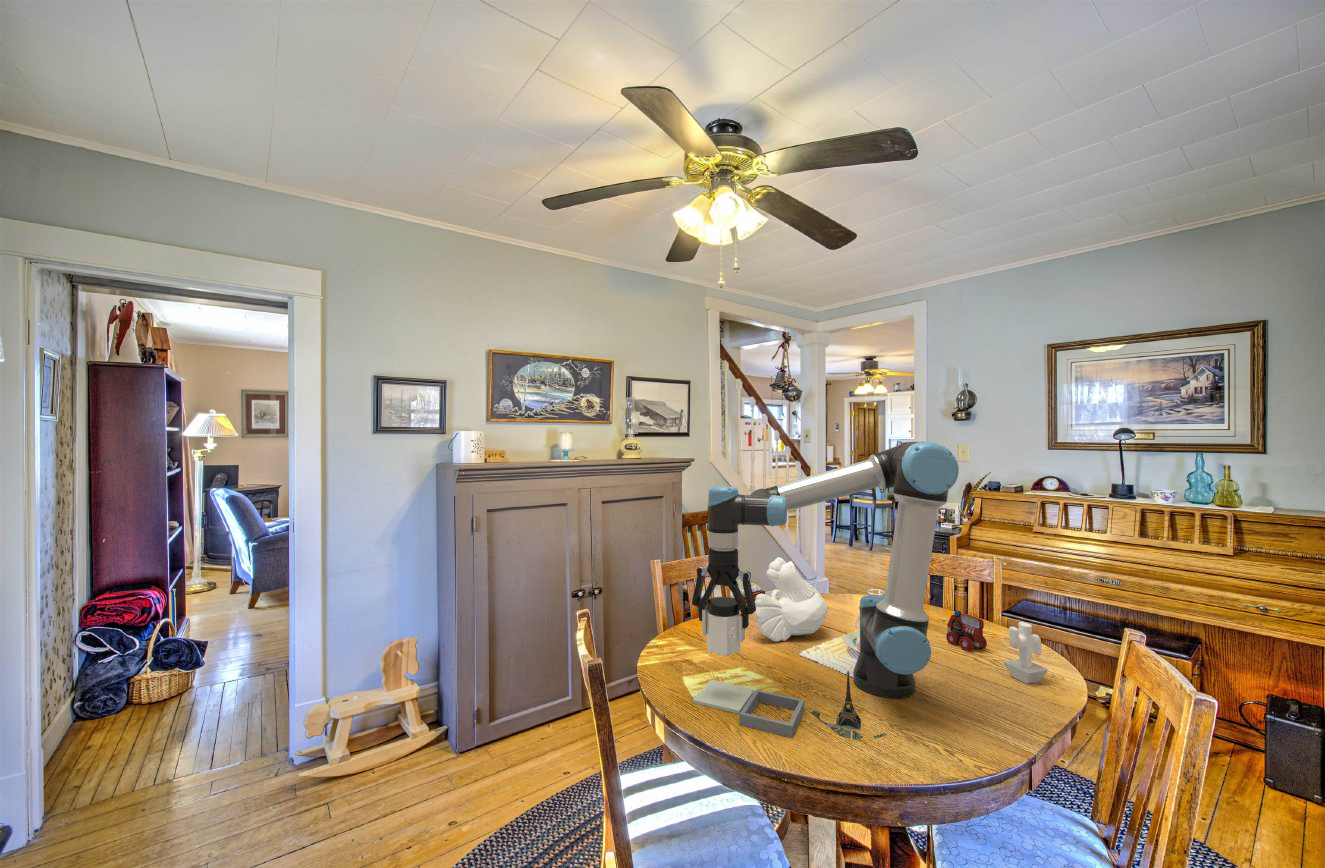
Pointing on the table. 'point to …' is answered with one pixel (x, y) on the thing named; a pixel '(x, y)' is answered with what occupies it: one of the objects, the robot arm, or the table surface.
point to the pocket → (770, 724)
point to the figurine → (1025, 654)
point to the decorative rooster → (789, 604)
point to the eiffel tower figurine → (846, 719)
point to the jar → (723, 626)
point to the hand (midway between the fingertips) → (723, 637)
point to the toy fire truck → (966, 631)
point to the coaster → (724, 696)
